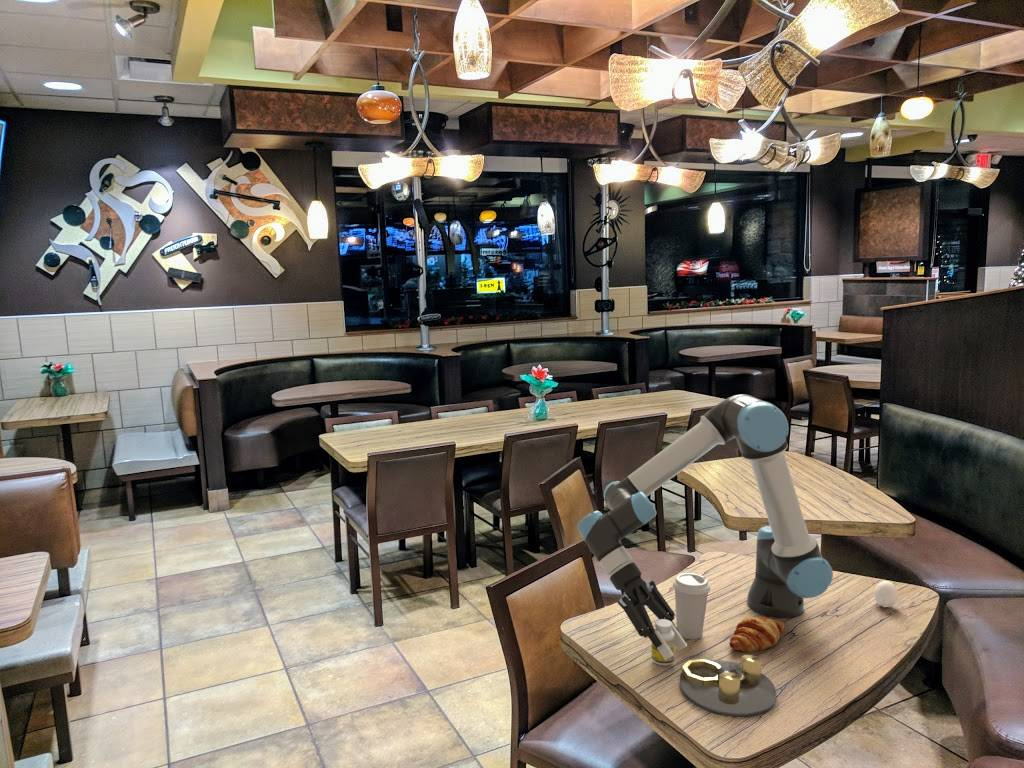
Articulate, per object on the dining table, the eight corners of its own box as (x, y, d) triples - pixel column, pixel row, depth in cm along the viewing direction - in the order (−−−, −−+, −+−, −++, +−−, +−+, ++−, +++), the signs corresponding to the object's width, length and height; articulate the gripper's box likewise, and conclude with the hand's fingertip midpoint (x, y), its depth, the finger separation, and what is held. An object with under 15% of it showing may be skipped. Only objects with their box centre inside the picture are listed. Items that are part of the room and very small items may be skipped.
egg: (868, 603, 214) (870, 578, 213) (886, 601, 216) (888, 576, 215) (883, 612, 209) (885, 586, 207) (901, 610, 210) (904, 584, 209)
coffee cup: (709, 643, 191) (711, 588, 188) (671, 639, 193) (673, 585, 190) (707, 626, 200) (709, 573, 198) (670, 623, 202) (672, 570, 200)
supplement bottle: (648, 655, 183) (649, 617, 182) (670, 654, 184) (671, 616, 182) (654, 666, 178) (655, 628, 177) (676, 665, 179) (678, 627, 177)
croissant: (771, 638, 201) (761, 608, 203) (802, 634, 193) (791, 604, 195) (722, 661, 188) (711, 629, 190) (753, 658, 180) (742, 625, 182)
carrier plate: (750, 663, 181) (752, 638, 180) (793, 714, 161) (795, 686, 160) (667, 668, 179) (668, 643, 178) (699, 720, 158) (700, 692, 157)
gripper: (632, 565, 195) (686, 645, 187) (589, 587, 182) (645, 674, 174) (650, 551, 191) (706, 632, 182) (608, 572, 178) (665, 661, 169)
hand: (676, 652), depth 178 cm, fingers closed on supplement bottle, 5 cm apart
